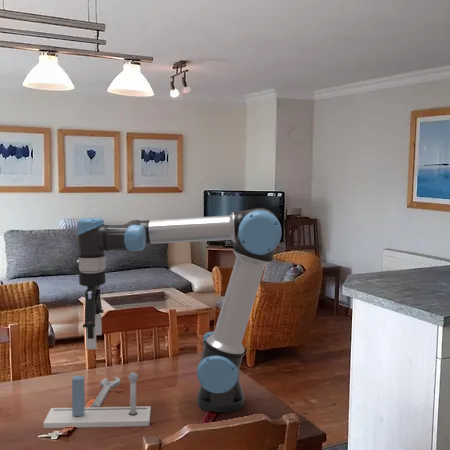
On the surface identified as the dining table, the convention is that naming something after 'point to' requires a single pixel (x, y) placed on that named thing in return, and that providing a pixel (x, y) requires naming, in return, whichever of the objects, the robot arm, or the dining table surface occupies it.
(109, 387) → the adjustable wrench
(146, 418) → the plate
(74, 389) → the post
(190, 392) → the dining table surface
